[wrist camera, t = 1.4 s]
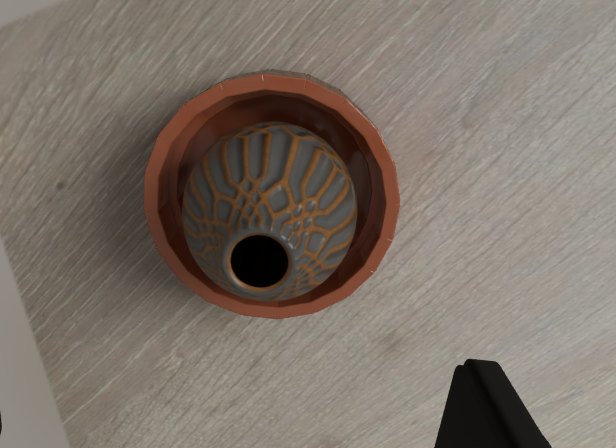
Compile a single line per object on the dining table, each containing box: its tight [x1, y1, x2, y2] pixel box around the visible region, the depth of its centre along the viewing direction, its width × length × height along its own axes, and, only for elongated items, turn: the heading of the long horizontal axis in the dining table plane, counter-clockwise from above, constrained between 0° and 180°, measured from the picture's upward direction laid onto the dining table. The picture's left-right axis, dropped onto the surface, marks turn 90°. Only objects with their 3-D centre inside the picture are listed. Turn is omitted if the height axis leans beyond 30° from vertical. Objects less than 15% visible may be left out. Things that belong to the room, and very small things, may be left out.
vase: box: [182, 121, 357, 302], centre depth 19 cm, size 7×7×9 cm
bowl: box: [144, 69, 400, 319], centre depth 22 cm, size 10×10×4 cm
